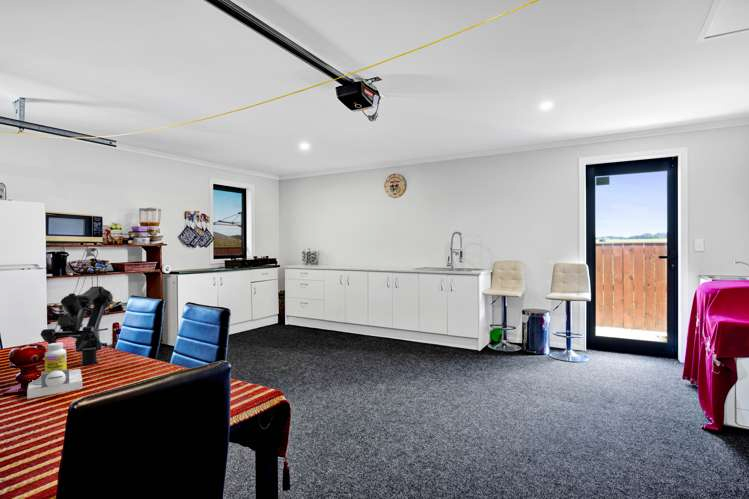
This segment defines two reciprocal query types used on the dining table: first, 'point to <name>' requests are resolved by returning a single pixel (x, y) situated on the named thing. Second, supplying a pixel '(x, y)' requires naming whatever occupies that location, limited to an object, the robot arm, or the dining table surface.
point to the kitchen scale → (55, 383)
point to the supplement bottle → (55, 357)
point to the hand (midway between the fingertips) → (63, 351)
